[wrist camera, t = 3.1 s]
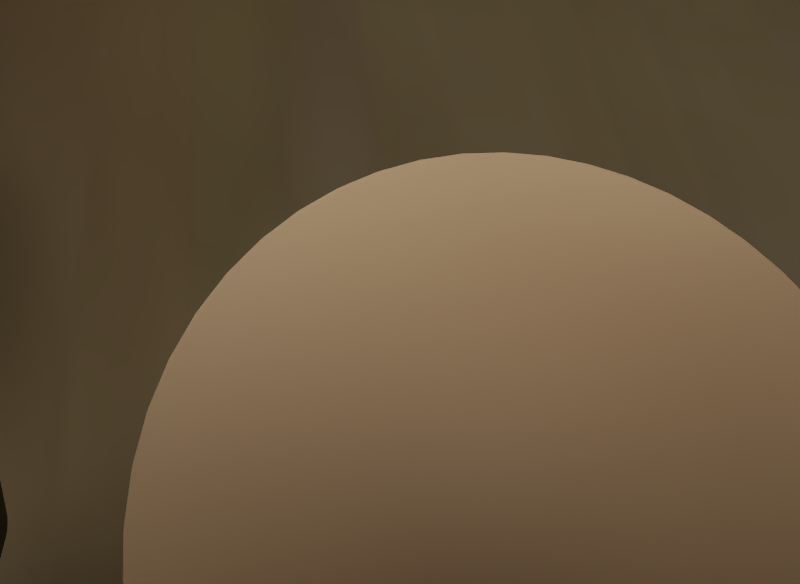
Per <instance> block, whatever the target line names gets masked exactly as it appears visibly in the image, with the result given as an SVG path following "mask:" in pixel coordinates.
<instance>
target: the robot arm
mask: <svg viewBox="0 0 800 584" xmlns="http://www.w3.org/2000/svg"><path fill="white" fill-rule="evenodd" d="M7 523H8V522H7V512H6V507H5V502H4V497H3V492H2V487H1V482H0V557H1V553H2V550H3V546H4V542H5V539H6V534H7Z"/></svg>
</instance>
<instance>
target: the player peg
mask: <svg viewBox="0 0 800 584" xmlns="http://www.w3.org/2000/svg"><path fill="white" fill-rule="evenodd" d="M123 584H800V289H799V288H798V287H797V286H796V285H795V284H794V283H793V282H792V281H791V280H790V279H789V278H788V277H787V276H786V275H785V274H784V273H783V272H782V271H781V270H780V269H779V268H778V267H776V266H775V265H774V264H773V263H772V262H770V261H769V260H768V259H767V258H766V257H764V256H763V255H762V254H761V253H760V252H758V251H757V250H756V249H755V248H754V247H752V246H751V245H750V244H749V243H748V242H747V241H745V240H744V239H742V238H741V237H739V236H738V235H736V234H735V233H734V232H732V231H731V230H729V229H728V228H726V227H725V226H723V225H722V224H720V223H719V222H717V221H716V220H715V219H713V218H712V217H710V216H709V215H707V214H705V213H703V212H702V211H700V210H698V209H696V208H694V207H692V206H691V205H689V204H687V203H685V202H683V201H682V200H680V199H678V198H676V197H674V196H672V195H671V194H669V193H666V192H664V191H662V190H659V189H657V188H654V187H652V186H650V185H647V184H645V183H643V182H640V181H638V180H636V179H633V178H631V177H628V176H625V175H622V174H619V173H615V172H612V171H609V170H606V169H602V168H599V167H596V166H593V165H590V164H585V163H580V162H575V161H570V160H565V159H559V158H554V157H549V156H541V155H529V154H517V153H505V152H503V153H470V154H457V155H450V156H444V157H437V158H430V159H423V160H418V161H415V162H411V163H407V164H404V165H400V166H396V167H393V168H389V169H385V170H382V171H378V172H376V173H373V174H371V175H369V176H366V177H364V178H361V179H359V180H357V181H354V182H352V183H349V184H347V185H344V186H342V187H340V188H337V189H336V190H334V191H332V192H330V193H329V194H327V195H325V196H323V197H322V198H320V199H318V200H316V201H315V202H313V203H311V204H309V205H308V206H306V207H304V208H302V209H301V210H299V211H298V212H296V213H295V214H294V215H292V216H291V217H290V218H288V219H287V220H286V221H284V222H283V223H282V224H280V225H279V226H278V227H276V228H275V229H274V230H273V231H271V232H270V233H269V234H267V235H266V236H265V237H263V238H262V239H261V240H260V241H259V242H258V243H257V244H256V245H255V246H254V247H253V248H252V249H251V250H250V251H249V252H248V253H247V254H246V255H245V256H244V257H243V258H242V259H241V260H240V261H239V262H238V263H237V264H236V265H235V266H234V267H233V268H232V269H230V270H229V271H228V272H227V274H226V275H225V276H224V277H223V279H222V280H221V281H220V283H219V284H218V285H217V286H216V288H215V289H214V290H213V292H212V293H211V294H210V296H209V297H208V298H207V299H206V301H205V302H204V303H203V305H202V306H201V307H200V308H199V310H198V311H197V312H196V314H195V315H194V317H193V319H192V321H191V322H190V324H189V326H188V327H187V329H186V331H185V333H184V334H183V336H182V338H181V339H180V341H179V343H178V345H177V346H176V348H175V350H174V351H173V353H172V355H171V357H170V358H169V360H168V363H167V365H166V368H165V370H164V372H163V375H162V377H161V379H160V382H159V384H158V387H157V389H156V391H155V394H154V396H153V399H152V401H151V403H150V406H149V408H148V410H147V414H146V418H145V421H144V425H143V429H142V432H141V436H140V440H139V443H138V447H137V451H136V454H135V458H134V462H133V465H132V470H131V477H130V485H129V492H128V499H127V506H126V514H125V521H124V528H123Z"/></svg>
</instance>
